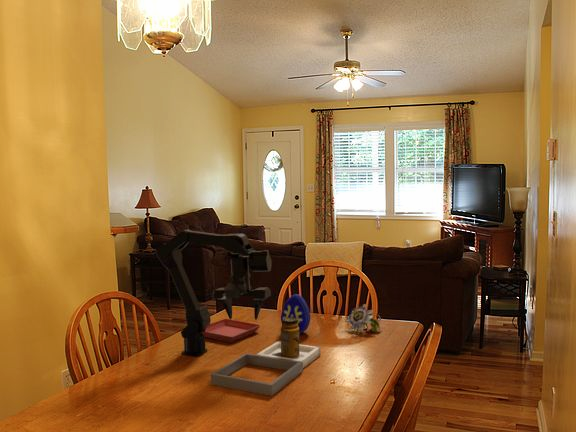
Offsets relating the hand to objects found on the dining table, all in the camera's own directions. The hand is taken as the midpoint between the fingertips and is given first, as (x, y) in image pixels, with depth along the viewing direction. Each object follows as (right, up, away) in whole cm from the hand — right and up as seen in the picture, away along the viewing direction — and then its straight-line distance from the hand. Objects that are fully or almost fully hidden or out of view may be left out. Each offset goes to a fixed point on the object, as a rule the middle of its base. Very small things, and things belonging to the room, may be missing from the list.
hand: (243, 319), depth 172 cm
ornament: (+18, -11, +27) cm, 34 cm away
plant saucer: (-8, -12, +27) cm, 30 cm away
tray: (+15, -13, -1) cm, 20 cm away
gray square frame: (+6, -14, -18) cm, 23 cm away
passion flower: (+44, -10, +30) cm, 54 cm away
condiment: (+15, -12, -2) cm, 19 cm away
